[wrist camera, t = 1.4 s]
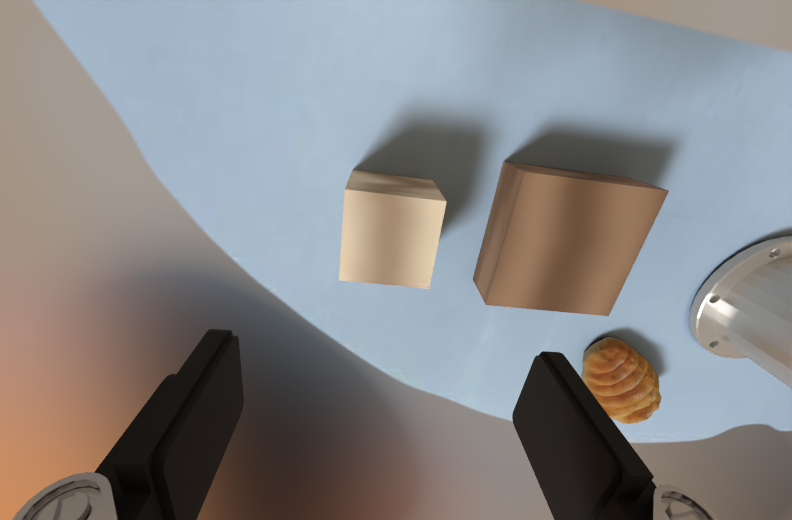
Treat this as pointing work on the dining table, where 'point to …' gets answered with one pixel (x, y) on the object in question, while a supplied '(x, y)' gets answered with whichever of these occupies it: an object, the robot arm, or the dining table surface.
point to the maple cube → (390, 229)
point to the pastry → (621, 380)
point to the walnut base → (563, 238)
